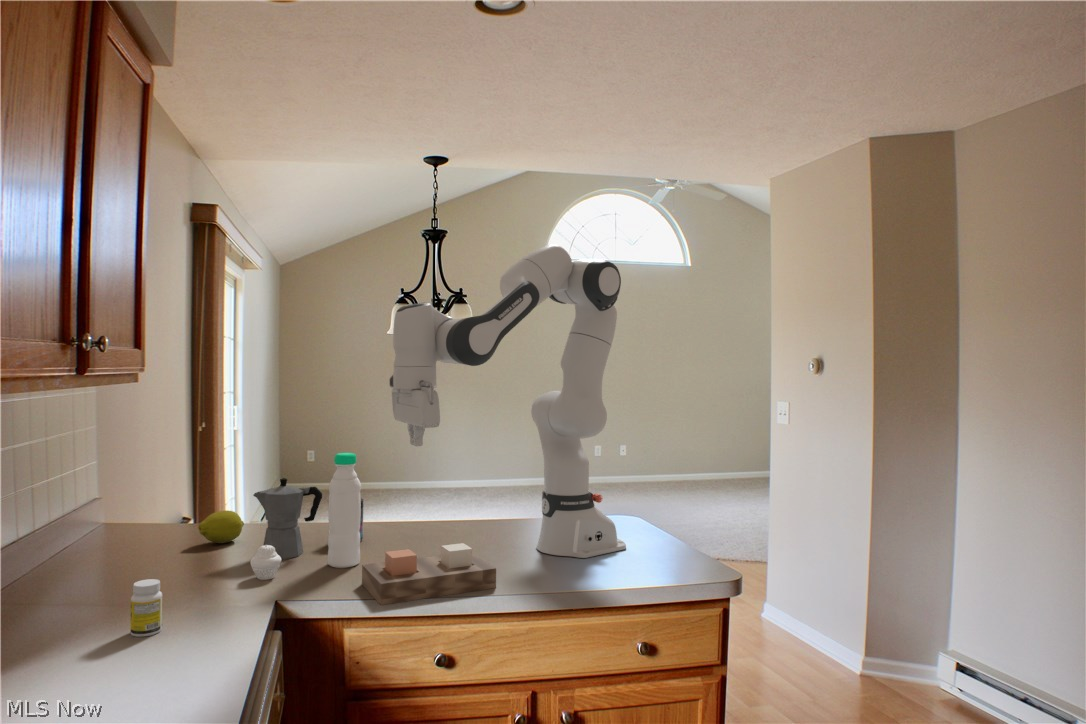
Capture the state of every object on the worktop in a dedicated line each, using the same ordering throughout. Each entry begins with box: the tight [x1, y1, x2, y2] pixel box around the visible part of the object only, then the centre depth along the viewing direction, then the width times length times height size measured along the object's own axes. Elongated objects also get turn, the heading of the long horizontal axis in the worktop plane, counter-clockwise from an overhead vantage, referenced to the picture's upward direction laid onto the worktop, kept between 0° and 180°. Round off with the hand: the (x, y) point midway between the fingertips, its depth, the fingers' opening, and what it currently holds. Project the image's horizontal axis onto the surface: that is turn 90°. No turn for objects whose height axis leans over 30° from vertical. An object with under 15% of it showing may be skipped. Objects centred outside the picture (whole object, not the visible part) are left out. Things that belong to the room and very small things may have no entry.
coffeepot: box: [252, 477, 323, 560], centre depth 171 cm, size 15×9×18 cm, turn 113°
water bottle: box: [327, 452, 362, 569], centre depth 164 cm, size 7×7×25 cm
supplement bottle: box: [130, 578, 163, 638], centre depth 123 cm, size 5×5×8 cm
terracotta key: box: [384, 548, 418, 576], centre depth 147 cm, size 5×5×5 cm
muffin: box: [250, 545, 282, 581], centre depth 153 cm, size 6×6×7 cm
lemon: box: [198, 510, 245, 544], centre depth 180 cm, size 11×8×8 cm
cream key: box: [440, 542, 473, 569], centre depth 152 cm, size 5×5×5 cm
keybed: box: [361, 552, 497, 606], centre depth 149 cm, size 24×14×4 cm, turn 118°
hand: (416, 445), depth 153 cm, fingers closed
